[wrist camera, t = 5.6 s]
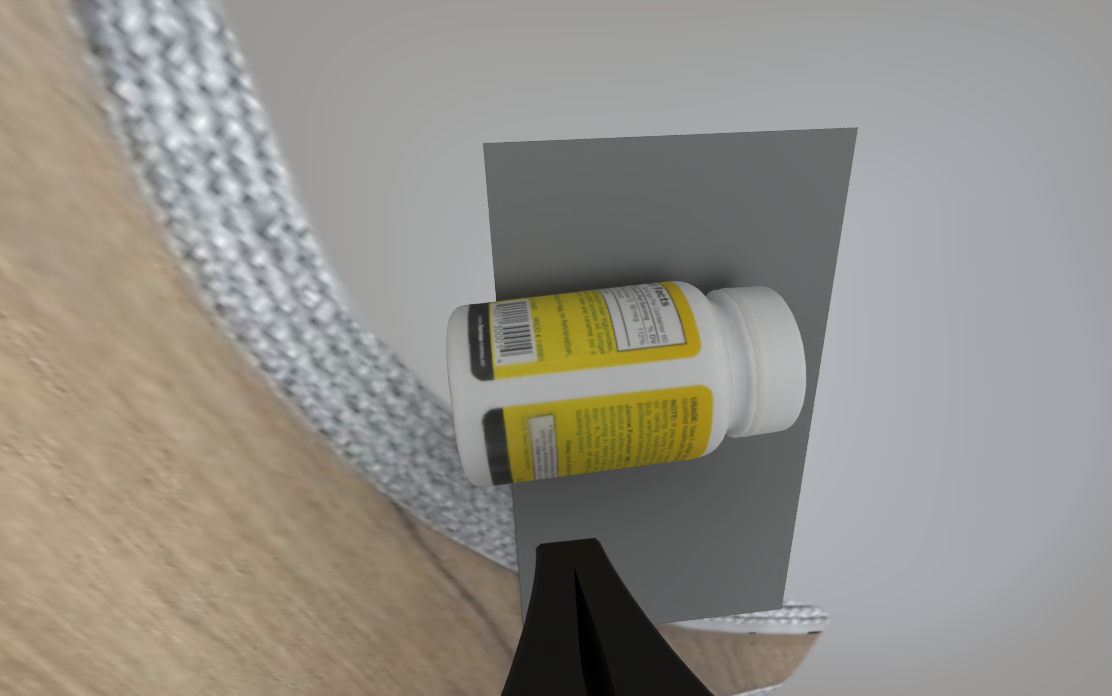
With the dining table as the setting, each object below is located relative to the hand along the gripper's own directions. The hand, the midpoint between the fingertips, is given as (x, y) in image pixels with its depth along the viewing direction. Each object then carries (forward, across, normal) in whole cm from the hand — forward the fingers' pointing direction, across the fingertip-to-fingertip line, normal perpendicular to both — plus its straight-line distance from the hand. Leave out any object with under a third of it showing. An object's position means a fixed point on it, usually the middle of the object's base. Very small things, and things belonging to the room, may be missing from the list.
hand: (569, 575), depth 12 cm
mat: (+6, -4, 0) cm, 8 cm away
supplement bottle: (+4, +2, -3) cm, 5 cm away
